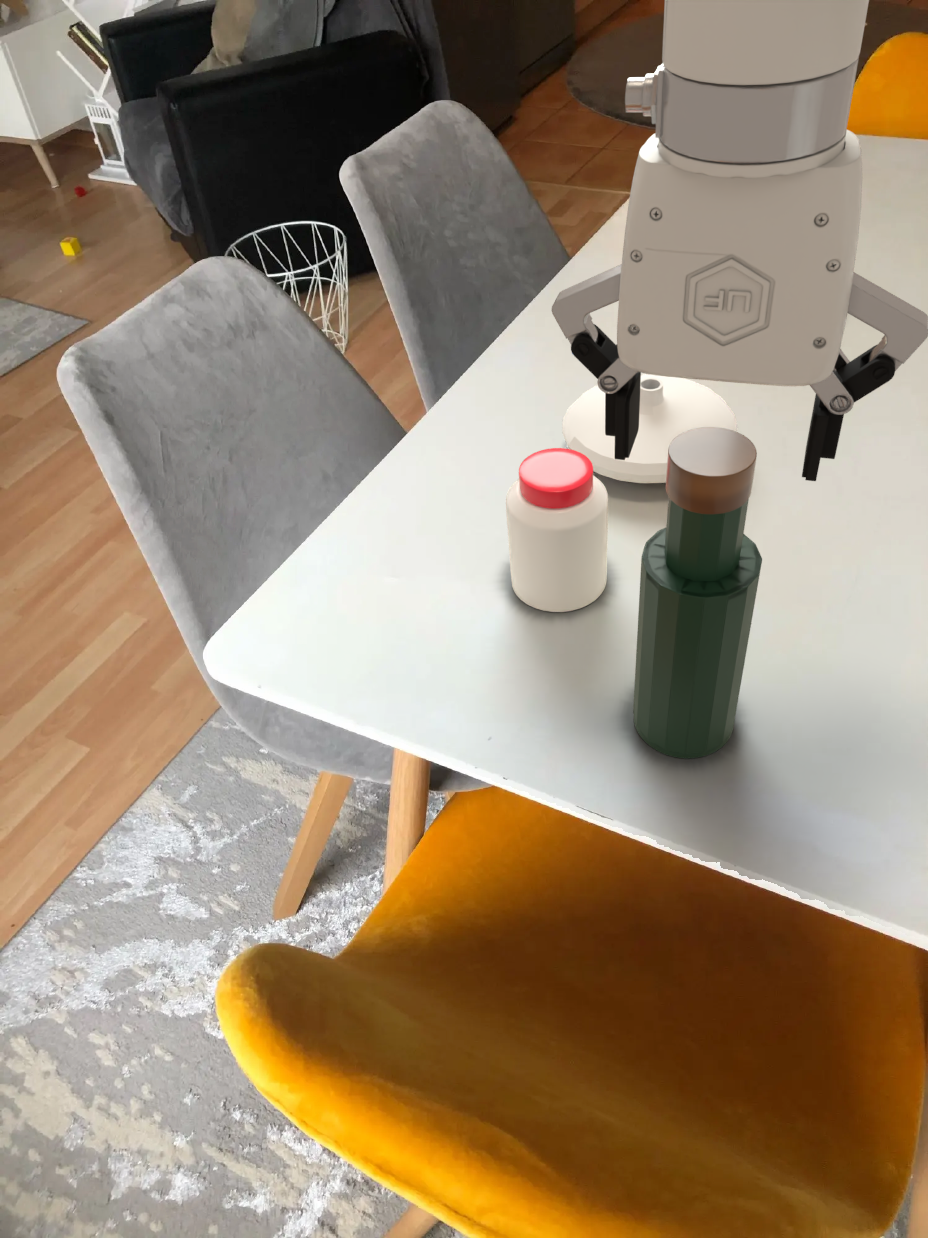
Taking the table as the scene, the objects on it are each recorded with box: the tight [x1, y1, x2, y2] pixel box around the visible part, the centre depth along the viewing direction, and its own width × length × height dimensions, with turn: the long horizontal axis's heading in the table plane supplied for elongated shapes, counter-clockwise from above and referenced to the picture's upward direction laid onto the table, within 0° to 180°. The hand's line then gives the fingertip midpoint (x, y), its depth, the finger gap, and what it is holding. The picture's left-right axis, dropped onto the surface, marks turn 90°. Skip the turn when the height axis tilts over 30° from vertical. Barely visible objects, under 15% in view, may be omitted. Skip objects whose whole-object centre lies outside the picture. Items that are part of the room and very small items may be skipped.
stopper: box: [665, 427, 758, 514], centre depth 54 cm, size 5×5×7 cm
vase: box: [561, 373, 739, 484], centre depth 87 cm, size 16×16×7 cm
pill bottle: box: [505, 447, 609, 613], centre depth 74 cm, size 8×8×11 cm
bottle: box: [632, 497, 763, 759], centre depth 60 cm, size 7×7×20 cm
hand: (716, 455), depth 51 cm, fingers open, 9 cm apart
